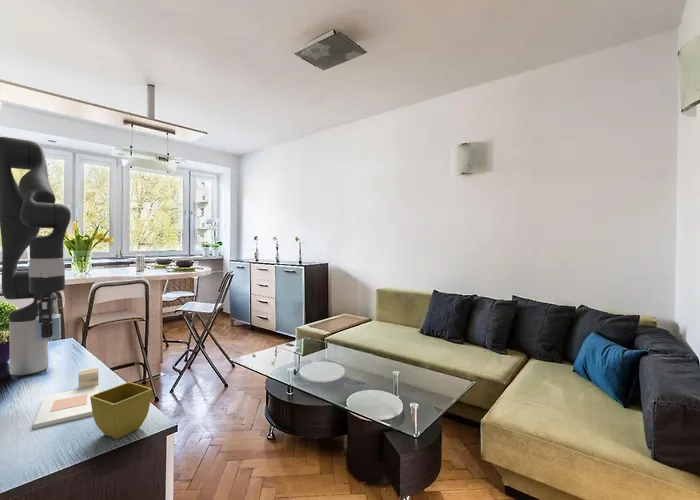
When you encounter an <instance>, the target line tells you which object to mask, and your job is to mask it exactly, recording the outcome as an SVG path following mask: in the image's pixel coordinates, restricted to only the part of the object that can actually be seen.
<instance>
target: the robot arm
mask: <svg viewBox="0 0 700 500" xmlns="http://www.w3.org/2000/svg"><path fill="white" fill-rule="evenodd" d="M12 169H16V170H28V171H27V172H26V173H24V175H22V177H21V178H20V179H19V182H17V181H16V179H15V177H14V175H13V171H12ZM48 174H49V173H48V167H47V161H46V156H45V152H44V149H43V146H42V145H41V143H38V142H36V141H33V140H28V139H20V138H14V137H8V136H0V240H1V241H0V242H1V253H2V254H1V255H2V257H1V258H2V259H1V294H2V296H3V298H4V299H6V300H11V301H12V300H25V299H26V300H27V299H33V301H32V302H31V303H30V304H28V305H26V306H24V307H21V308H18V309H15V310H12V311H10V312H9V314H8V330H9V331H8V333H9V335H8V337H9V375H10V376H25V375H30V374H35V373H39V372H42V371H45V370H47V369H48V368H49V356H48V355H49V353H48V352H49V349H48V347H49V346H48V341H49V340H47V341H39V342H35V319H36V317H37V316H39V323H40V324H41V335H42V338H47V337H51V336H52V335H53V334H52V323H53V315H55V314H57V311H58V298H59V297H58V296H57V295H56V294H55V293H57V292H62V291H65V289H66V274H65V271H66V270H65V269H66V267H65V265H66V264H65V262H64V261H65V260H64V241H65V237H66V236H65V235H66V233H67V230H68V227H69V224H70V221H71V217H72V214H71V210H70V208H69V207H68V206H66V204H63V203H56V196H55V193H54V191H53V188H52V186H51V183H50V181H49V175H48ZM40 229H52V231H51V232H50V234H47V235H43V236H38V235H39V233H40ZM28 247H29V261H28V262H29V263H28V270H18V268H17V267H18V264H19V260H20V258H21V257H22V256H23V254H24V253H25V251H26V250H27V248H28ZM46 315H49V318H43V316H46Z"/></svg>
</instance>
